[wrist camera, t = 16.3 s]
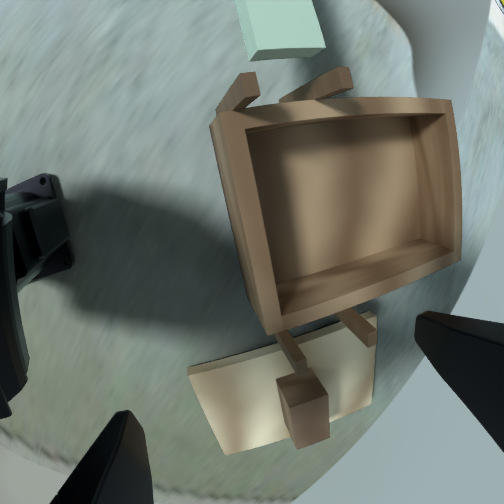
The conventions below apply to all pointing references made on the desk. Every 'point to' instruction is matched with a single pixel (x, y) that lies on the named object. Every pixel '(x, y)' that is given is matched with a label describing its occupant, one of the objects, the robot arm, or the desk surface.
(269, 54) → the key
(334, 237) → the box
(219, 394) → the lid
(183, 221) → the desk surface
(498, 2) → the supplement bottle
